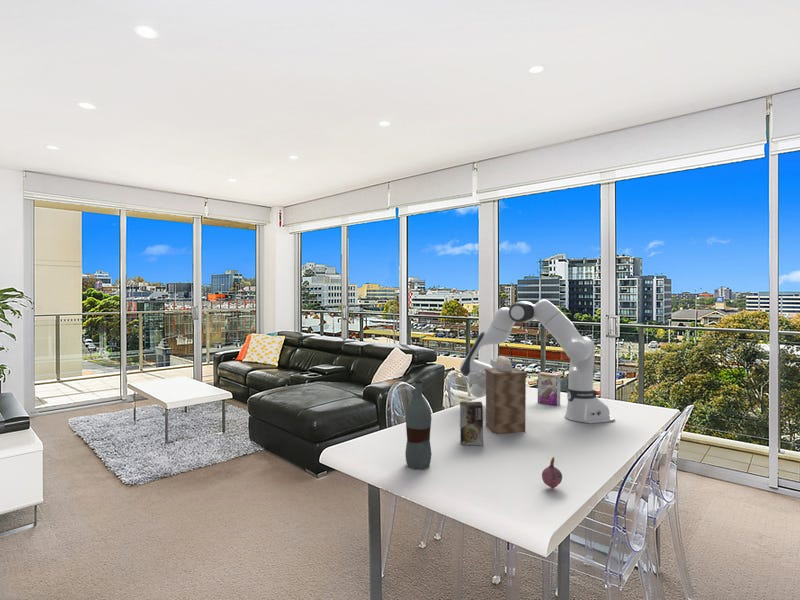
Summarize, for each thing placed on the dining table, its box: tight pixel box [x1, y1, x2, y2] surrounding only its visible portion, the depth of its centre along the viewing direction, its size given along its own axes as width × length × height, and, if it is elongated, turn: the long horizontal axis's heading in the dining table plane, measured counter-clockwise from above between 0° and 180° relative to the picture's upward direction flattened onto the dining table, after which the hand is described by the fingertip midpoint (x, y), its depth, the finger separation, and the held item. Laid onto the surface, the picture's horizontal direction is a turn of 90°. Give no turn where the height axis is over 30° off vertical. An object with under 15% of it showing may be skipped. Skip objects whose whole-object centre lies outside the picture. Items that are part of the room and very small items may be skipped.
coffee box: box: [459, 401, 484, 446], centre depth 189 cm, size 9×6×16 cm
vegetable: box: [541, 456, 563, 489], centre depth 145 cm, size 6×6×10 cm
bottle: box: [404, 379, 432, 470], centre depth 164 cm, size 9×9×30 cm
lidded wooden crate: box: [485, 367, 528, 434], centre depth 208 cm, size 15×13×26 cm
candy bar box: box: [537, 371, 561, 406], centre depth 256 cm, size 11×5×16 cm, turn 49°
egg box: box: [490, 355, 513, 372], centre depth 213 cm, size 4×18×6 cm, turn 7°
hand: (491, 372), depth 228 cm, fingers open, 8 cm apart
